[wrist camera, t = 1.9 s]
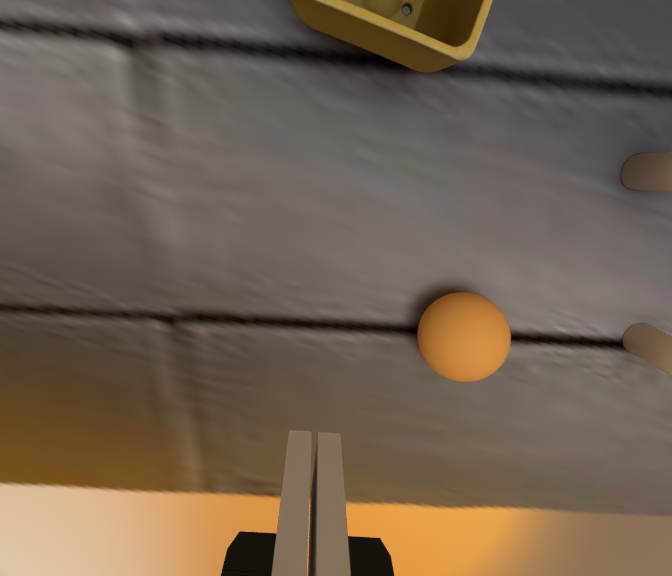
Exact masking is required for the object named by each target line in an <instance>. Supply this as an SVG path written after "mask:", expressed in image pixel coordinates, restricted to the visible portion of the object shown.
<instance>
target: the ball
mask: <svg viewBox="0 0 672 576" xmlns="http://www.w3.org/2000/svg"><path fill="white" fill-rule="evenodd" d="M510 342H511V335H510V329H509V325H508V322H507V320H506V318H505V316H504V315H503V313H502V312H501V310H500V309H499V308H498V307H497V306H496V305H495V304H494V303H493V302H491V301H490V300H488V299H486V298H485V297H482V296H480V295H477V294H473V293H468V292H458V293H452V294H448V295H445V296H443V297H441V298H439V299H437V300H436V301H434V302H433V303H432V304H431V305H430V306H429V307H428V308H427V309H426V311H425V312H424V314H423V315H422V317H421V320H420V323H419V327H418V344H419V348H420V351H421V354H422V356H423V358H424V359H425V360H426V362H427V363H428V365H429V366H430V367H431V368H432V369H434V370H435V371H436V372H437V373H439V374H440V375H442V376H444V377H446V378H449V379H451V380H455V381H462V382H470V381H476V380H480V379H483V378H485V377H487V376H489V375H491V374H492V373H494V372H495V371H496V370H497V369H498V368H499V367H500V366H501V365H502V364H503V362H504V360H505V359H506V357H507V355H508V352H509V349H510Z"/></svg>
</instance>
